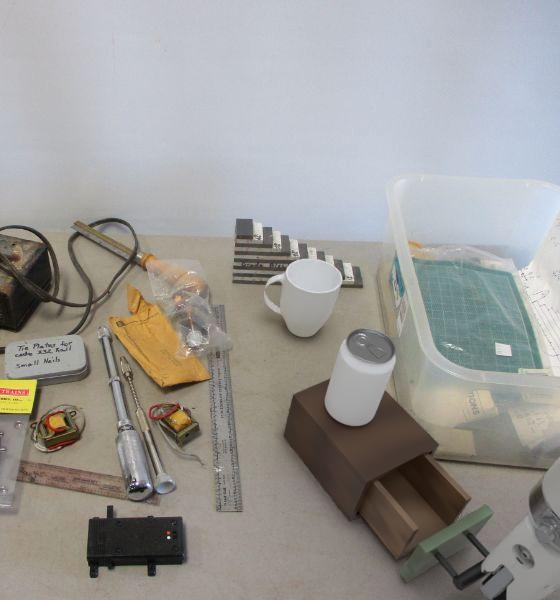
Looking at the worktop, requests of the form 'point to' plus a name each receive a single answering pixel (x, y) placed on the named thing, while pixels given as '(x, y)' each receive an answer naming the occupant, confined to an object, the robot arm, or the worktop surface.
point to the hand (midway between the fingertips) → (498, 594)
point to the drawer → (425, 519)
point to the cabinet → (352, 445)
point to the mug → (306, 295)
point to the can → (360, 376)
